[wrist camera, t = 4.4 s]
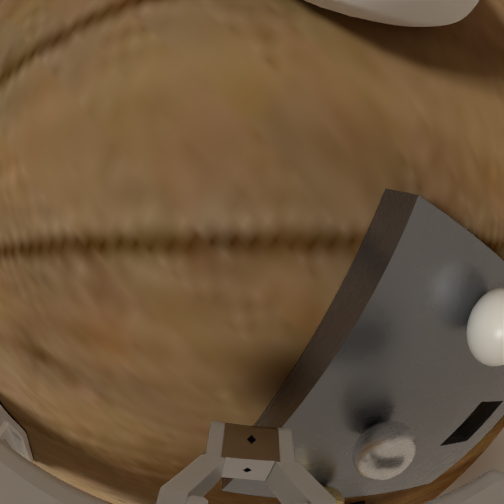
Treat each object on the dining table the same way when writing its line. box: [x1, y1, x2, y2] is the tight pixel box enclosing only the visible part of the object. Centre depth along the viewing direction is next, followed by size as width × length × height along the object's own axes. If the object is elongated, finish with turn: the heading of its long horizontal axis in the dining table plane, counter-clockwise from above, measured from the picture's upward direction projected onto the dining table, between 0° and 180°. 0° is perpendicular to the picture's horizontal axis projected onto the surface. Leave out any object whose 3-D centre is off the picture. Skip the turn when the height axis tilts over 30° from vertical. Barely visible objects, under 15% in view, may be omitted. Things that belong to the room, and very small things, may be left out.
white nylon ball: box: [467, 288, 504, 366], centre depth 7 cm, size 3×3×3 cm
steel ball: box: [352, 421, 417, 480], centre depth 9 cm, size 3×3×3 cm
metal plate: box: [222, 189, 504, 498], centre depth 12 cm, size 20×22×2 cm
